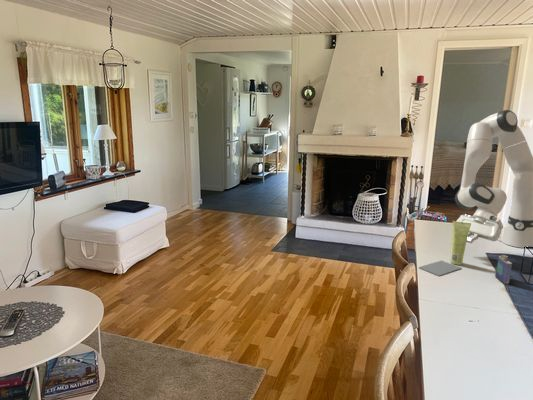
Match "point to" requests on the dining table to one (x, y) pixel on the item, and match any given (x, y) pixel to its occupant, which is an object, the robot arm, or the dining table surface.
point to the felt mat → (440, 268)
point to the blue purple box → (503, 269)
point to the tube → (459, 241)
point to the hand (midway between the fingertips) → (468, 241)
